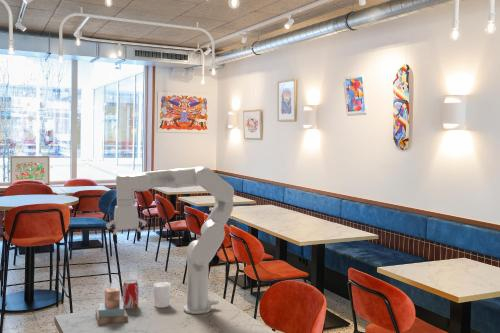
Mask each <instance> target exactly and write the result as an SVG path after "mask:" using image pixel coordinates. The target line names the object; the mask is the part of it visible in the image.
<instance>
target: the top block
mask: <svg viewBox="0 0 500 333" xmlns="http://www.w3.org/2000/svg"><path fill="white" fill-rule="evenodd" d="M124 308H125V307H124V302H123V301H120V307H115V308H107V307H106V306H105V302H100V303H99V307H98V310H99V317H114V316H123V311H124Z"/></svg>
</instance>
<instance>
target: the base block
mask: <svg viewBox="0 0 500 333" xmlns="http://www.w3.org/2000/svg"><path fill="white" fill-rule="evenodd" d="M95 317H96V321H97V325H108V324H116V323H124V322H129V318H128V317H129V316H128V313H127V311H126V308H125V307H124V311H123V316H114V317H99V309H95Z"/></svg>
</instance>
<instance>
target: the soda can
mask: <svg viewBox="0 0 500 333" xmlns="http://www.w3.org/2000/svg"><path fill="white" fill-rule="evenodd" d="M139 290H140V289H139V284H138V280H136V279H126V280H124V283H123V284H122V302H124V308H125V310H126V309H127V310H132V309H136V308H137V307H138V306H139Z"/></svg>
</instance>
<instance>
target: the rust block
mask: <svg viewBox="0 0 500 333" xmlns="http://www.w3.org/2000/svg"><path fill="white" fill-rule="evenodd" d="M120 292H121V290H120V289H119V288H118V287H111V288H110V287H109V288H105V289H104V303H105V306H106V307H107V308H115V307H120V302H121V301H120V298H121V297H120V296H121V295H120V294H121V293H120Z"/></svg>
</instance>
